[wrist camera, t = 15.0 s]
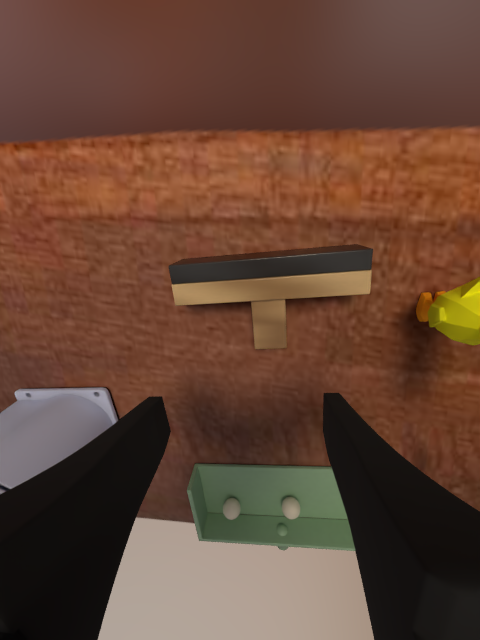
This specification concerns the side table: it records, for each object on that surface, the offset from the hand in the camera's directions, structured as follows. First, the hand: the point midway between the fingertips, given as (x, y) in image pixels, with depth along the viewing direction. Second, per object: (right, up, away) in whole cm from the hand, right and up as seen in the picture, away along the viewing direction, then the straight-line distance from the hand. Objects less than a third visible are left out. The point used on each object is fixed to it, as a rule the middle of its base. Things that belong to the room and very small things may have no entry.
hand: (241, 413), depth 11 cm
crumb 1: (-1, -15, +15) cm, 21 cm away
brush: (+2, +8, +5) cm, 10 cm away
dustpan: (+4, -14, +15) cm, 21 cm away
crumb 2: (+5, -14, +14) cm, 20 cm away
